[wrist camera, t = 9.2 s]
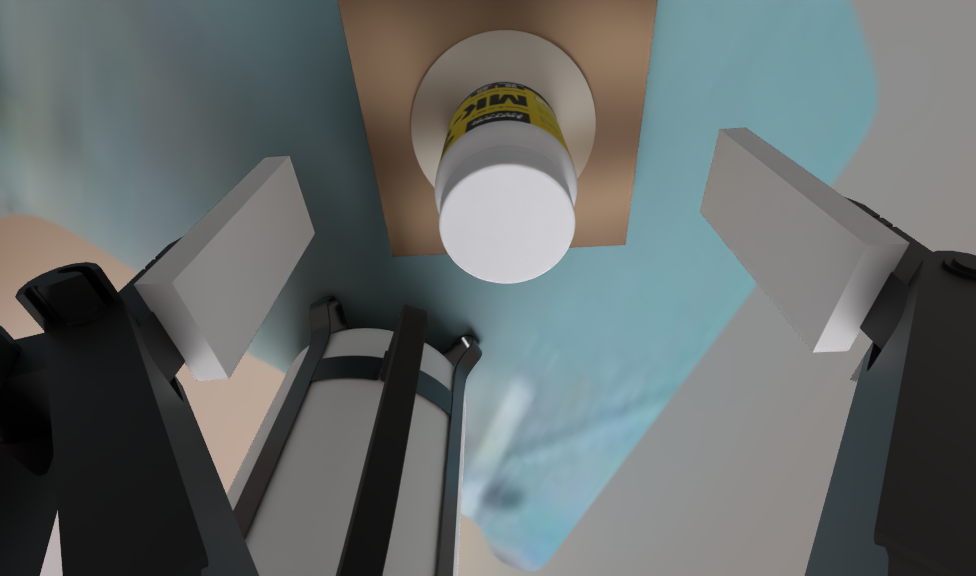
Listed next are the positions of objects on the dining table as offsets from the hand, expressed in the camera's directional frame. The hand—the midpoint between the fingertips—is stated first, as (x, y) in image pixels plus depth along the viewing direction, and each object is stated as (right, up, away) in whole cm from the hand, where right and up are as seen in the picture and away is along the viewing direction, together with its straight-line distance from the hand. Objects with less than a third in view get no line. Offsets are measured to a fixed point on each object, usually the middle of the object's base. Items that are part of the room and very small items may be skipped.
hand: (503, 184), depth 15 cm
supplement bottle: (0, +3, +6) cm, 7 cm away
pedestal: (0, +5, +8) cm, 10 cm away
